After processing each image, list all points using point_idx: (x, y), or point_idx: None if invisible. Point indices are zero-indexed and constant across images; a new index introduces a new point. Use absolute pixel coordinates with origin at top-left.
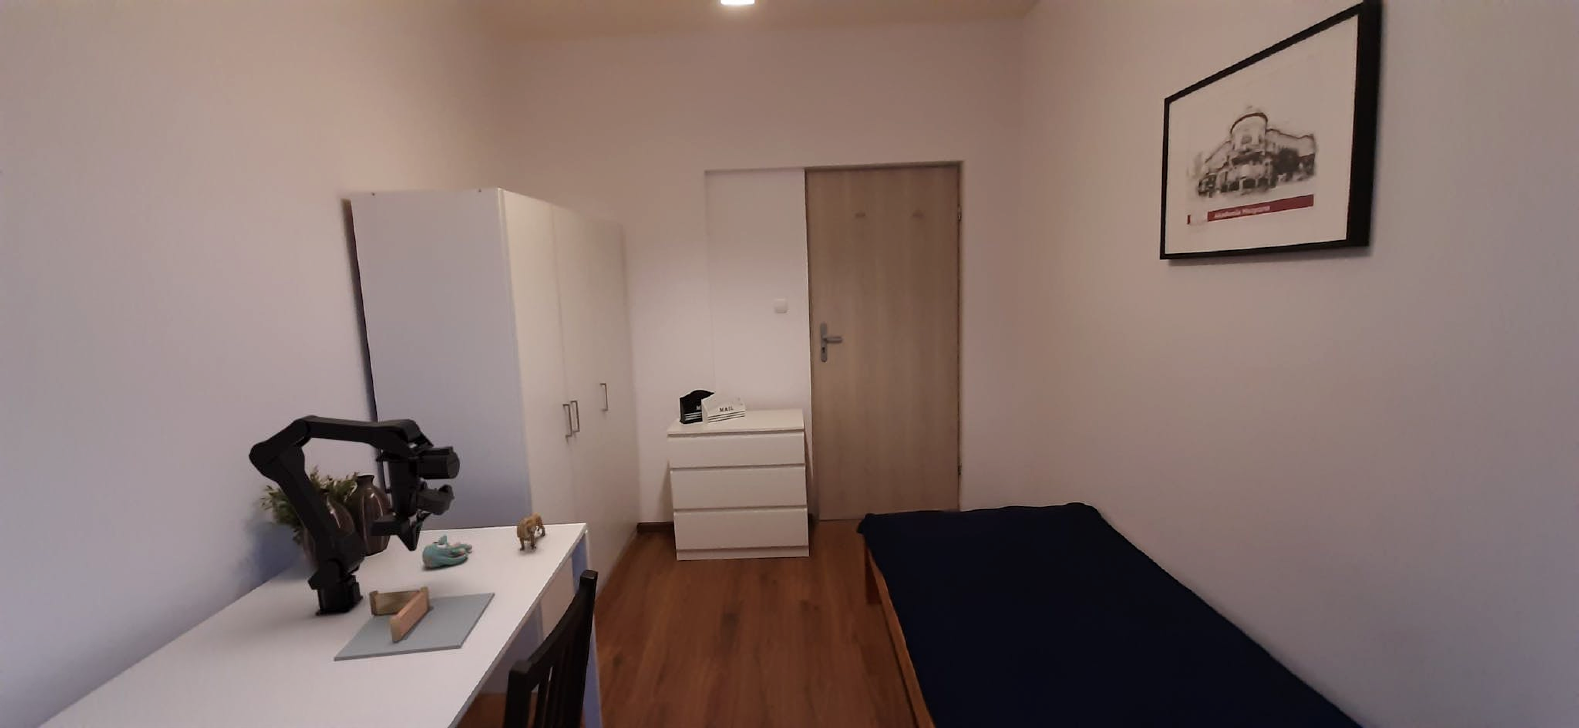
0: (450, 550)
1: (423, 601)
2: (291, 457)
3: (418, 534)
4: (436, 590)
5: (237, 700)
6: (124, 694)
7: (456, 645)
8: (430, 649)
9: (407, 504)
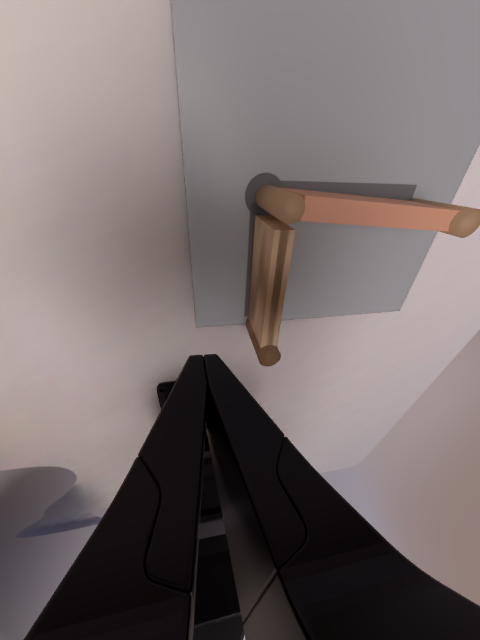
0: None
1: (312, 193)
2: None
3: (178, 450)
4: (112, 226)
5: (424, 368)
6: (343, 457)
7: None
8: None
9: None
